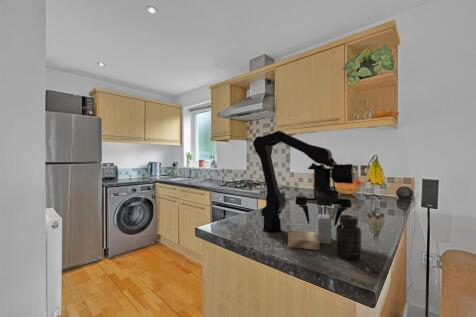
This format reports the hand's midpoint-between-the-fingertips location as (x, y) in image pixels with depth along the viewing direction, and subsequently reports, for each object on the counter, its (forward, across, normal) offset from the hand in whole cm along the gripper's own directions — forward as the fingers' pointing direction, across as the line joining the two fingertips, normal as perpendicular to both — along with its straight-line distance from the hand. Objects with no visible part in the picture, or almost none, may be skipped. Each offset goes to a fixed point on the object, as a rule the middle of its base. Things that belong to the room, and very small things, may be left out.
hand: (321, 224), depth 81 cm
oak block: (+6, -7, -5) cm, 10 cm away
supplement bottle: (+6, +6, -13) cm, 16 cm away
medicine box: (+6, 0, 0) cm, 6 cm away
